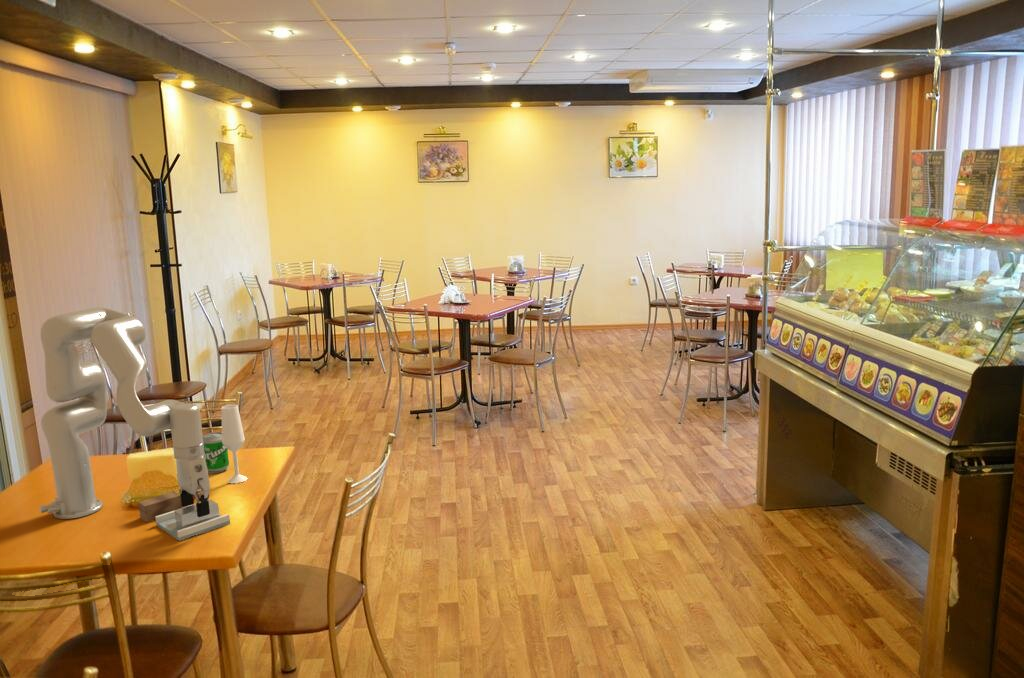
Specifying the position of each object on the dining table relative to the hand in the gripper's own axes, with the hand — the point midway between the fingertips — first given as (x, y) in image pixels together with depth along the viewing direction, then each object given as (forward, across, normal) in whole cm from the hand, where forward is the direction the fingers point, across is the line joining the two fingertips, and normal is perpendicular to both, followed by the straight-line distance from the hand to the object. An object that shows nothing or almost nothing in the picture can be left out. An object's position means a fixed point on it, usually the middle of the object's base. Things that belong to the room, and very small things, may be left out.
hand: (195, 510), depth 215 cm
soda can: (+6, +39, -24) cm, 46 cm away
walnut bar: (+6, +17, +3) cm, 18 cm away
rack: (+5, +3, 0) cm, 6 cm away
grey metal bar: (+4, 0, 0) cm, 4 cm away
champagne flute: (+6, +25, -24) cm, 35 cm away
